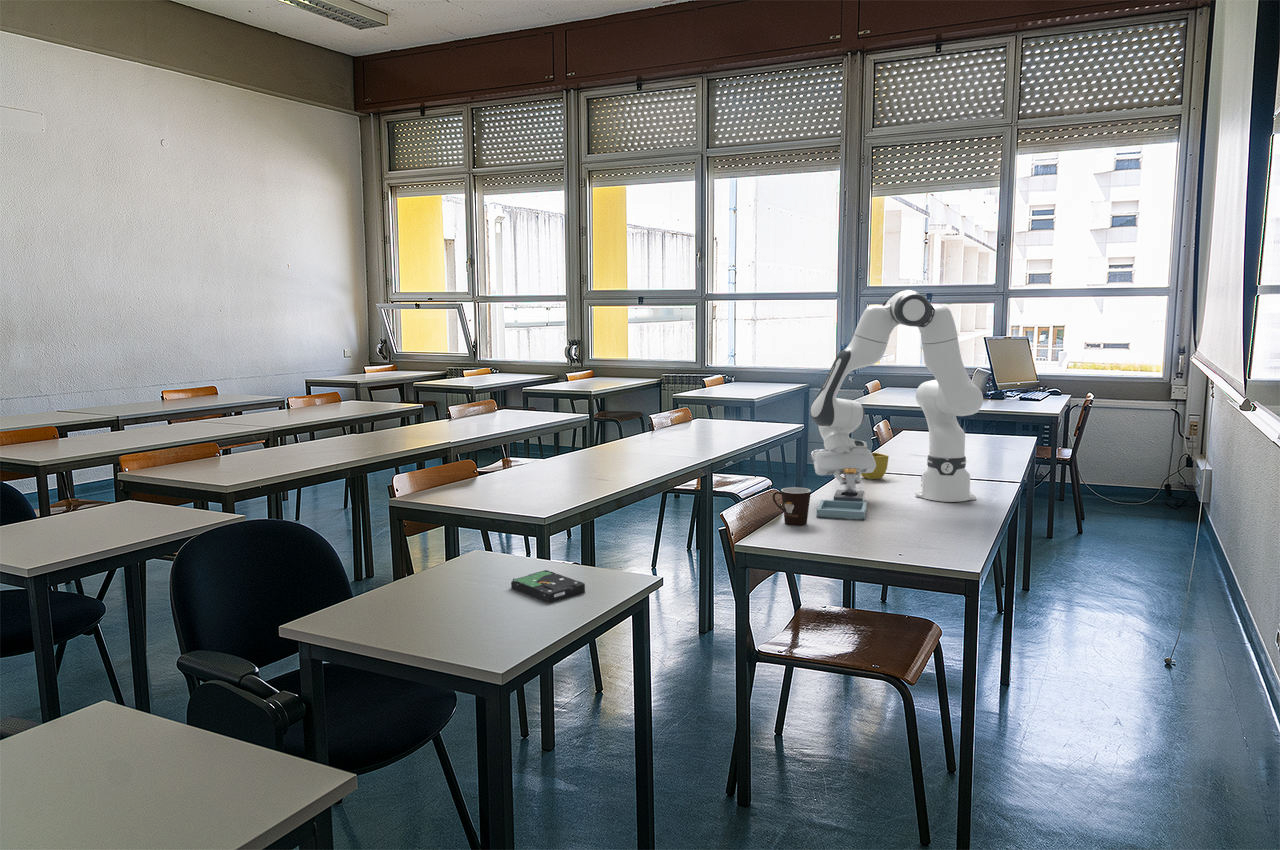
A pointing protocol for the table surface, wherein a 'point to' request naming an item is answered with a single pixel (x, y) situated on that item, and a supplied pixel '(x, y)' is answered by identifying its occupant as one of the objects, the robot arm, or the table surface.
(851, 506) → the tray
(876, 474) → the flower pot
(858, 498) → the socket block
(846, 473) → the orange capped bottle
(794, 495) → the coffee mug
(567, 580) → the disk drive
